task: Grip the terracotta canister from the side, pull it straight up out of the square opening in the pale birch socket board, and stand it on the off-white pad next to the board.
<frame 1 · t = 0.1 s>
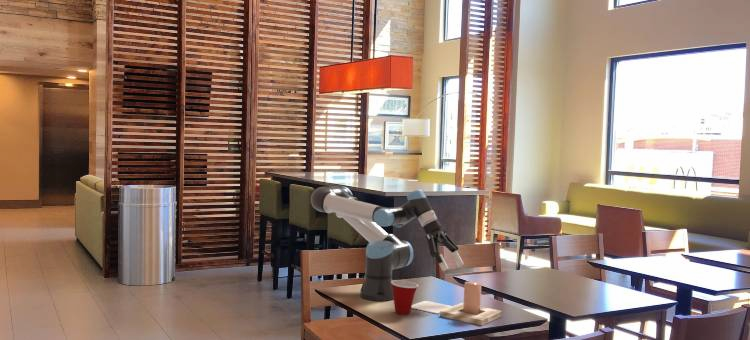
hand: (453, 267, 270), 15 cm above the table, tool tilted 35°, fingers open, 13 cm apart
socket board: (471, 316, 251), on the table
plastic cup: (403, 313, 252), on the table
off-white pad: (431, 307, 262), on the table
terracotta canister: (472, 299, 251), in the socket board
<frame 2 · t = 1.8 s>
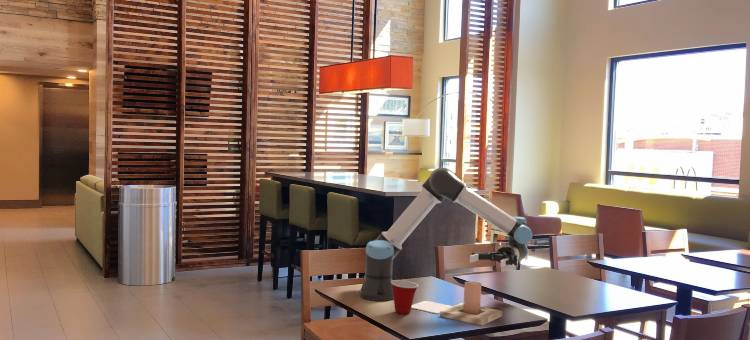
hand: (485, 261, 259), 20 cm above the table, tool horizontal, fingers open, 13 cm apart
nothing on the table moved.
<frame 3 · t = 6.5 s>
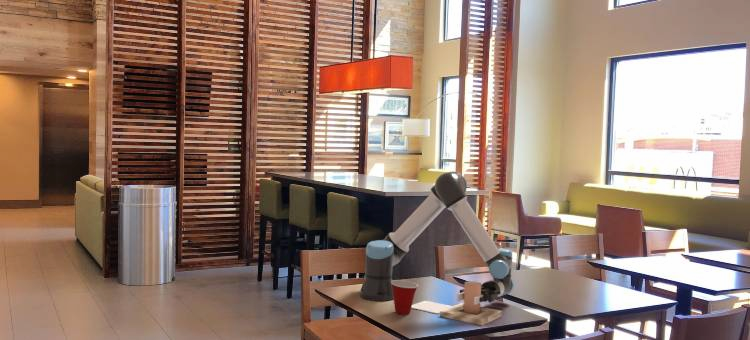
hand: (466, 299, 247), 8 cm above the table, tool horizontal, fingers closed on terracotta canister, 6 cm apart
terracotta canister: (472, 299, 251), in the socket board, touching gripper
everything else where it was.
when the fingers open (8 cm above the table, at t = 12.6 s): terracotta canister stays where it is, resting on off-white pad.
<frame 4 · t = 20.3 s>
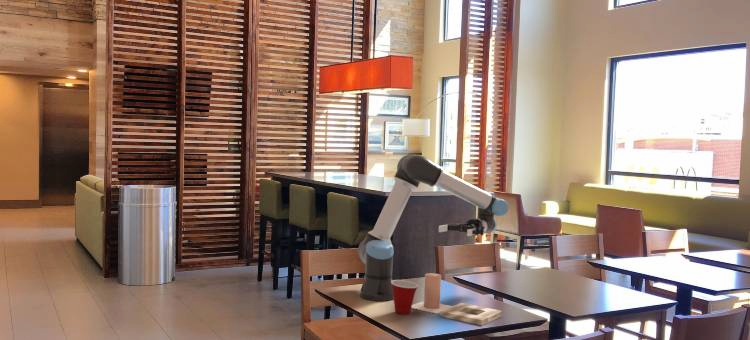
hand: (453, 231, 273), 30 cm above the table, tool horizontal, fingers open, 13 cm apart
terracotta canister: (432, 290, 261), on the off-white pad
everything else where it was.
at the end: terracotta canister inside the target area on the off-white pad (0.1 cm from its centre), point 6.9 cm above the off-white pad's base; terracotta canister tilted 0°; the gripper is holding nothing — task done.
